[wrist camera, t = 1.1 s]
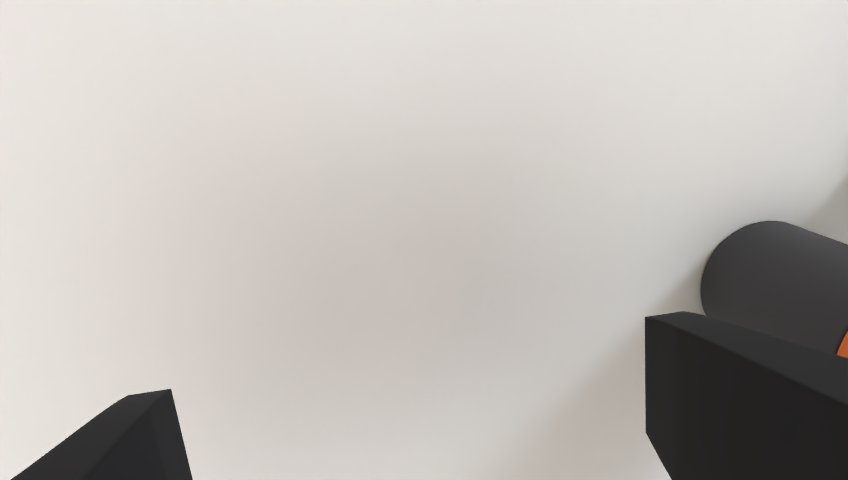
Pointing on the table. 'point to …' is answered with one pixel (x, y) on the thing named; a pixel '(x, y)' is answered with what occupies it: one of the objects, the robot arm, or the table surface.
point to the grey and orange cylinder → (781, 285)
